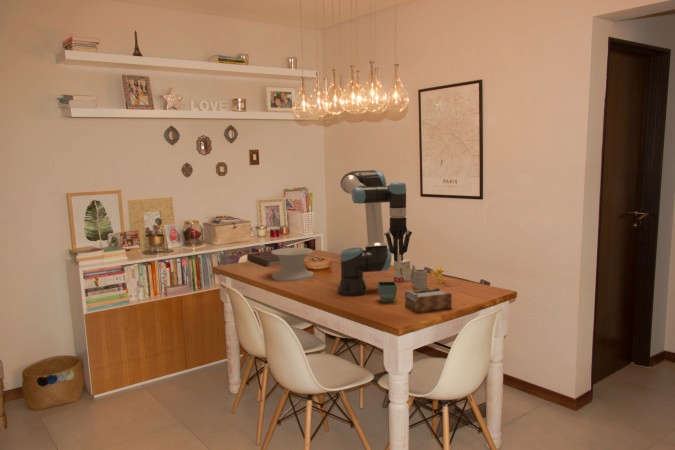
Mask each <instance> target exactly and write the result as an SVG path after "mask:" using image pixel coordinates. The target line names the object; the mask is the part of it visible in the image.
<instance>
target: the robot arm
mask: <svg viewBox="0 0 675 450" xmlns="http://www.w3.org/2000/svg"><path fill="white" fill-rule="evenodd" d="M340 187H341V189H342V190H343V191H344V192H345V193H346V194H348V195H349V194H350V195H351V199H352V203H354V204H359V205H361V204H364V206H365V207H364V208H365V210H364V211H365V220H366V221H365V222H366V237H367V244H366V245H365V247H364V248H365V249H363V248H362V247H350V248H349V247H348V248H347V249H344V250H342V251H341V252H340V282H339V284H338V287H337V292H338V294H339V295H341V296H348V297H357V296H361V295H362V296H363V295H365V294H367V293H368V289H367V285H366V283H365V280H364V273H373V272H376V273H377V272H386V271H389V269H390V268H391V265H392V254H393V262H394V261H396V268H397V269H401V261H403V260H404V255H405V253H407V252H408V248H409V243H410V239H411V235H412V234H413V232H412V231H411V230H408V228H407V217H406V216H407V185H406V183H405V182H390V183H389V184H388V185H387V179H386V177H385V174H384V172H383V171H381V170H371V169H370V170H353V171H349V172H347V173H345V174H344V176H342V178H341V180H340ZM382 203H389V229H388V231H387V232H384V226H383V212H382ZM384 236H385V238H386V242H387V244H386V243H385V241H384V240H385V239H384ZM391 236H392V237H391ZM392 240H393V241H392Z"/></svg>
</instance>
